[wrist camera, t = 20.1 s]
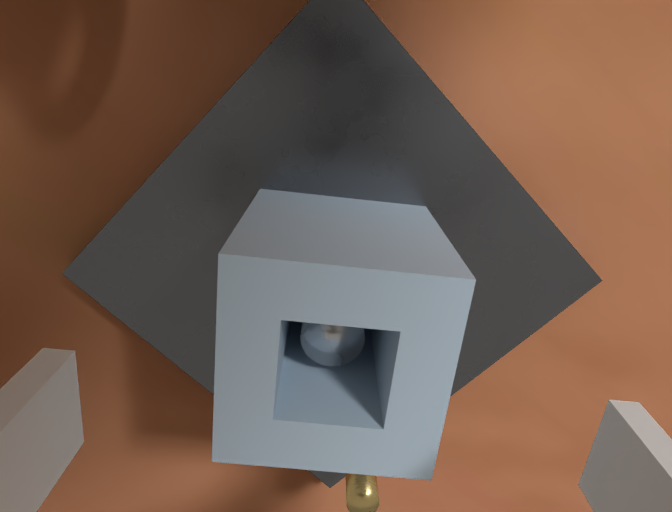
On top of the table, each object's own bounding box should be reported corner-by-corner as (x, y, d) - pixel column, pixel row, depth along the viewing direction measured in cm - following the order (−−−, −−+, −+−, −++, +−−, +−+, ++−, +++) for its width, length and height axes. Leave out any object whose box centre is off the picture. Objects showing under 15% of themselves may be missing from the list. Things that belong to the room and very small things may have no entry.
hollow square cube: (260, 188, 21) (218, 253, 13) (425, 206, 21) (476, 279, 14) (246, 416, 25) (208, 565, 17) (386, 428, 25) (408, 580, 18)
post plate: (337, -25, 19) (338, -72, 13) (591, 272, 23) (682, 342, 17) (72, 265, 23) (-22, 334, 17) (330, 473, 27) (328, 588, 21)
